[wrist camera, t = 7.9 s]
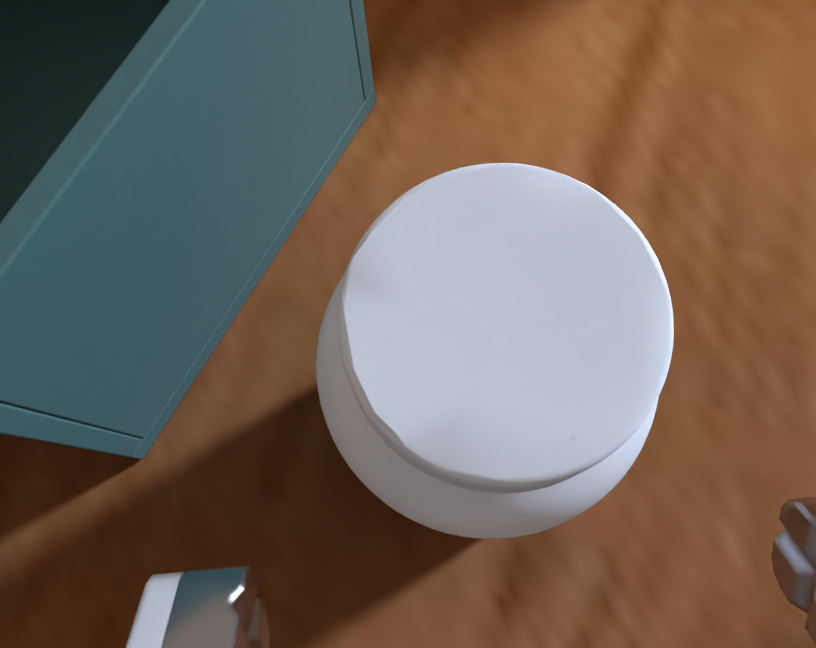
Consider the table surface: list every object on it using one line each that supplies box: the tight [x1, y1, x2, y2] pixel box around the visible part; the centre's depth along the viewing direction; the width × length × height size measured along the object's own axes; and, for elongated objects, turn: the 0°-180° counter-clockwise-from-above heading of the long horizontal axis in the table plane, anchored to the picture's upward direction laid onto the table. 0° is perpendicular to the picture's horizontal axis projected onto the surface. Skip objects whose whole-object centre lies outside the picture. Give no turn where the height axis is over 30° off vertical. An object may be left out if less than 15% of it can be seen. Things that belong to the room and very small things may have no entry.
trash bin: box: [0, 0, 376, 459], centre depth 18 cm, size 13×13×10 cm
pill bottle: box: [316, 163, 674, 539], centre depth 15 cm, size 6×6×11 cm
